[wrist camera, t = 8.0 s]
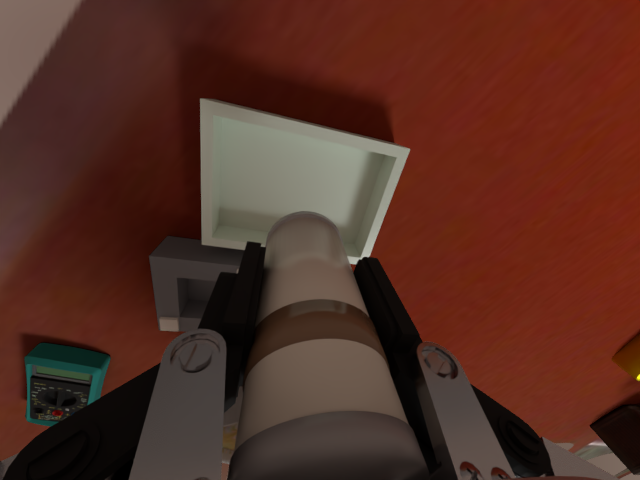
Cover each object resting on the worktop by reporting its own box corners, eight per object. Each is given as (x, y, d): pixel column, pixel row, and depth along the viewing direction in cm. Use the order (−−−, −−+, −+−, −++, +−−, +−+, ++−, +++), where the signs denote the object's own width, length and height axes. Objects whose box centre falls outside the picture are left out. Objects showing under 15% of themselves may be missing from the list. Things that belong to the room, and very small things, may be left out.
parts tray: (394, 143, 21) (410, 149, 18) (358, 248, 26) (365, 265, 23) (213, 98, 18) (199, 98, 15) (211, 228, 23) (201, 244, 20)
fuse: (350, 218, 12) (468, 449, 4) (331, 278, 14) (386, 519, 6) (271, 204, 11) (226, 460, 3) (262, 271, 13) (219, 536, 5)
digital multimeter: (39, 402, 34) (19, 426, 31) (42, 336, 28) (17, 360, 25) (100, 409, 36) (86, 432, 34) (114, 350, 30) (98, 373, 28)
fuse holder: (263, 248, 25) (259, 270, 21) (254, 311, 29) (250, 337, 26) (167, 235, 23) (147, 257, 20) (173, 304, 27) (157, 332, 24)
